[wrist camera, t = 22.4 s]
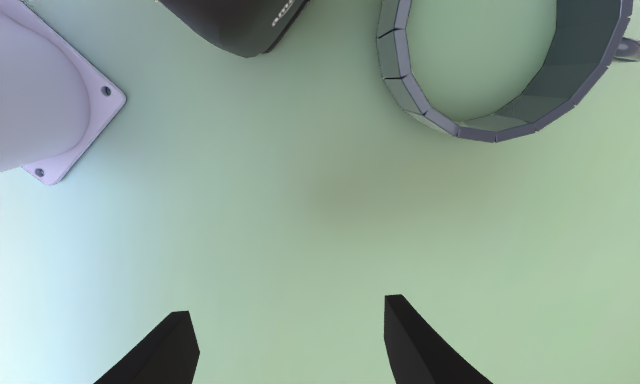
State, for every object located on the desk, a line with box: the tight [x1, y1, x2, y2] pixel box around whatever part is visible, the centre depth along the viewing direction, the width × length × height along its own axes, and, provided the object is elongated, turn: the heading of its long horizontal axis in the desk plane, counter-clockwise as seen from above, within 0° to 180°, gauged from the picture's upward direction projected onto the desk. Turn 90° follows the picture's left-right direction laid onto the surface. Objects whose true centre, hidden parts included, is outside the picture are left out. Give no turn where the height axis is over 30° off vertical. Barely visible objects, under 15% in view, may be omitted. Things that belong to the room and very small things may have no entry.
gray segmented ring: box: [376, 0, 640, 143], centre depth 16 cm, size 14×11×4 cm
